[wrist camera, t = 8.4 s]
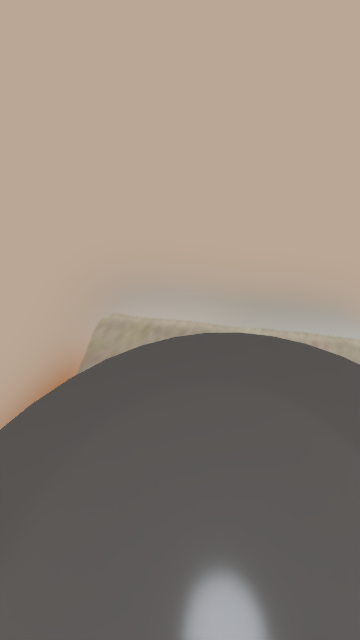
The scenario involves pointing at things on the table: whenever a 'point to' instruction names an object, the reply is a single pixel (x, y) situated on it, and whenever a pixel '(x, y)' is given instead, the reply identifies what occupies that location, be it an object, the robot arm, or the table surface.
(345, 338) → the table surface
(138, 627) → the bottle
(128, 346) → the table surface
